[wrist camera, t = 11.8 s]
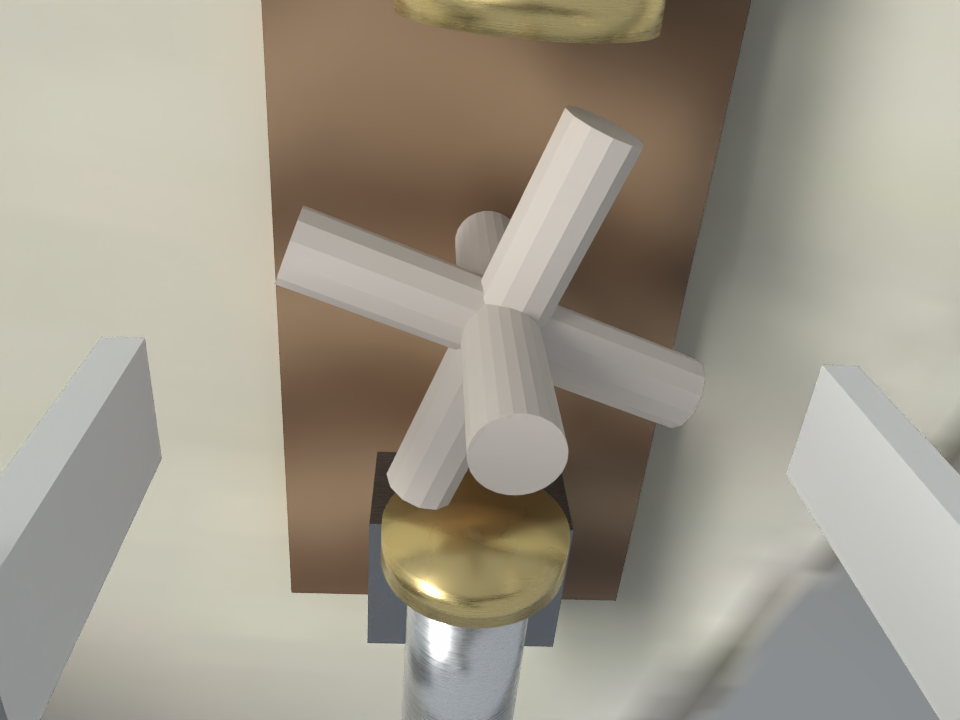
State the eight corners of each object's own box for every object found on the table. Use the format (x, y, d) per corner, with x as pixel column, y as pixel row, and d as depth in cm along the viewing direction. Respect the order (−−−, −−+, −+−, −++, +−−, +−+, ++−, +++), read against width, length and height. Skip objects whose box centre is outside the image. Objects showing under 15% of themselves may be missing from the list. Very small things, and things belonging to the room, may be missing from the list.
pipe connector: (730, 150, 22) (918, 323, 14) (563, 429, 27) (624, 692, 18) (383, -13, 20) (344, 71, 11) (264, 324, 24) (168, 571, 16)
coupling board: (608, 571, 32) (615, 600, 31) (297, 562, 31) (291, 592, 30) (808, -364, 18) (837, -384, 17) (253, -430, 17) (238, -456, 16)
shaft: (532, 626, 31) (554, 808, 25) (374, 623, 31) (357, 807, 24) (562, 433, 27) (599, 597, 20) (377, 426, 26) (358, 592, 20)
